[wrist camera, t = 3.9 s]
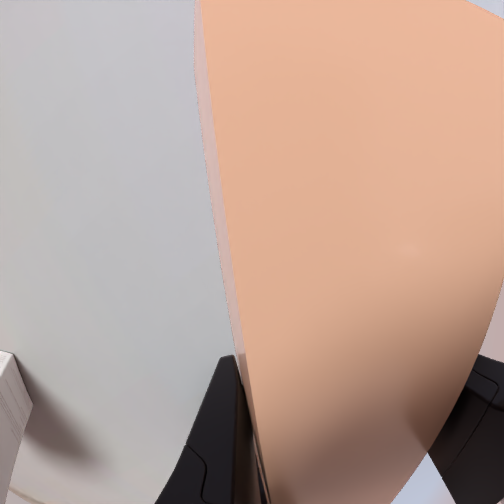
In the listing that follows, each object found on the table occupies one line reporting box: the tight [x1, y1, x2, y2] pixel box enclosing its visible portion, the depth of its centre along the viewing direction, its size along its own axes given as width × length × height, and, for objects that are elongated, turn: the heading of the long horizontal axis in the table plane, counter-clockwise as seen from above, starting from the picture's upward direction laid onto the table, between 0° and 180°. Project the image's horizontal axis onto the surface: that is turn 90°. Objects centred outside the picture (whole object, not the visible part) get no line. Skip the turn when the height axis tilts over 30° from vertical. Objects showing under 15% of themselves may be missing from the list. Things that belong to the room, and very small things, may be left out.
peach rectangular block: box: [194, 0, 504, 504], centre depth 8 cm, size 16×4×6 cm, turn 6°
